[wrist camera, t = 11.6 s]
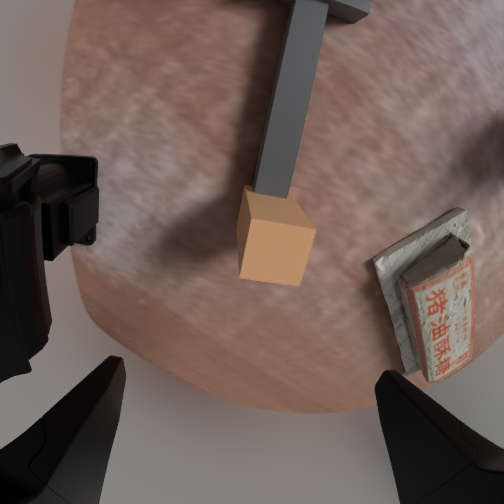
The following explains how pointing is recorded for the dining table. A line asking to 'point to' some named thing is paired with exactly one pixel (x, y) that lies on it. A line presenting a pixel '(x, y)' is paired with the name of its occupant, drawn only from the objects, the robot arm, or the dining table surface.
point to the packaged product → (432, 295)
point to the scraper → (286, 151)
